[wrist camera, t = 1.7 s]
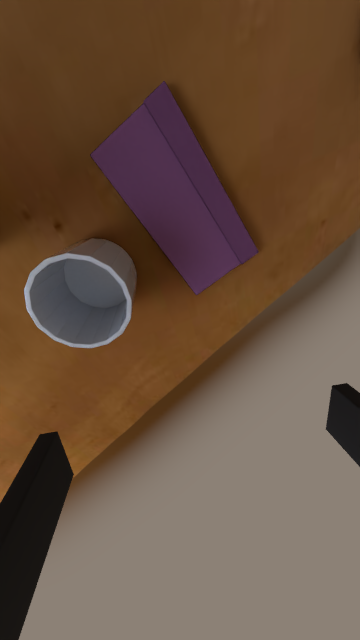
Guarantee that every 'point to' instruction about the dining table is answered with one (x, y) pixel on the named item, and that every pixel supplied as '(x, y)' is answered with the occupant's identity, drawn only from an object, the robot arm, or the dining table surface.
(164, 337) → the dining table surface
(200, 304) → the dining table surface
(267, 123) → the dining table surface
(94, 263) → the gray cup
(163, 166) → the plum cloth
